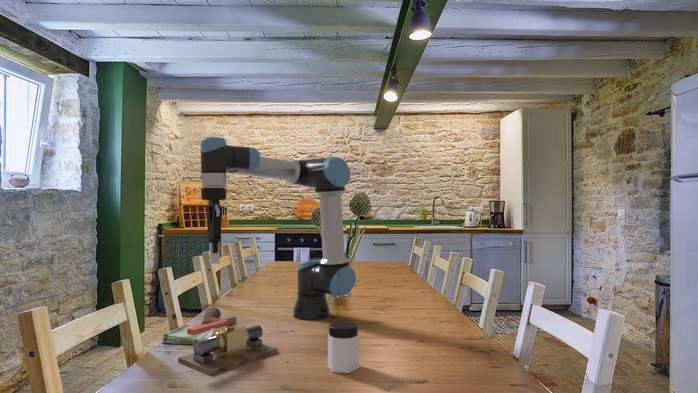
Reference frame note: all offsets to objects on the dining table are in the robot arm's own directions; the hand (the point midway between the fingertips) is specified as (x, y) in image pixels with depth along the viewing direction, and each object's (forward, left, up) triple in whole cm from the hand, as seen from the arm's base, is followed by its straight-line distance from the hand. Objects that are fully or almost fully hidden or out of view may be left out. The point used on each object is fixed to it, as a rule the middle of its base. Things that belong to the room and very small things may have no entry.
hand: (214, 263), depth 136 cm
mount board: (-6, +5, -28) cm, 28 cm away
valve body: (-6, +5, -26) cm, 27 cm away
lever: (-2, +10, -17) cm, 20 cm away
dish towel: (+6, -16, -28) cm, 33 cm away
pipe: (+3, -30, -28) cm, 41 cm away
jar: (-39, +17, -28) cm, 50 cm away
